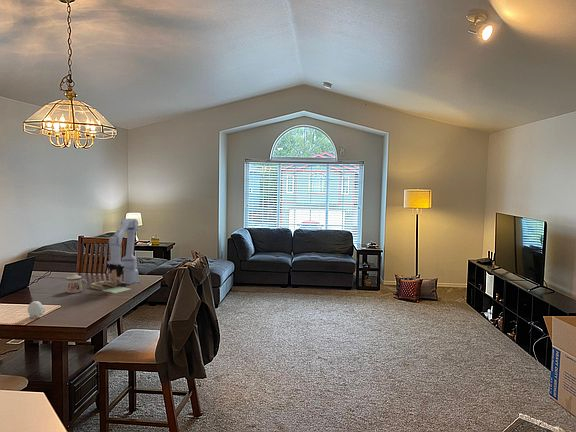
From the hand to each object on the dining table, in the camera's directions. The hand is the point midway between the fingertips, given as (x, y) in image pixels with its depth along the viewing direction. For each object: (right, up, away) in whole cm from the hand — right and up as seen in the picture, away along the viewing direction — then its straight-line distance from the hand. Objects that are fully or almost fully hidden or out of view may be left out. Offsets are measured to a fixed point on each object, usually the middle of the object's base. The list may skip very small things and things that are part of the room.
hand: (116, 276), depth 294 cm
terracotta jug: (0, -2, 0) cm, 2 cm away
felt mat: (0, -9, 0) cm, 9 cm away
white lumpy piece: (-20, -14, -55) cm, 60 cm away
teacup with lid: (-24, -9, -3) cm, 26 cm away
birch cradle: (-12, -8, +8) cm, 17 cm away
